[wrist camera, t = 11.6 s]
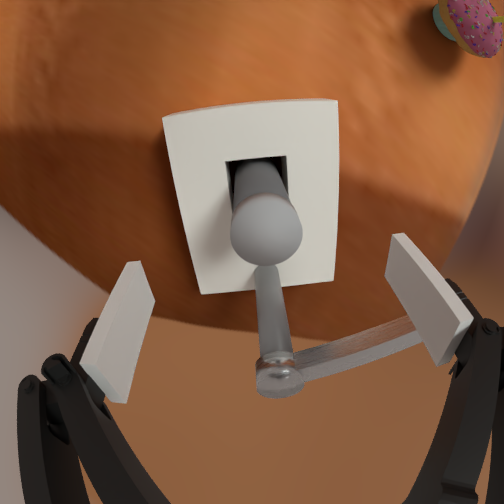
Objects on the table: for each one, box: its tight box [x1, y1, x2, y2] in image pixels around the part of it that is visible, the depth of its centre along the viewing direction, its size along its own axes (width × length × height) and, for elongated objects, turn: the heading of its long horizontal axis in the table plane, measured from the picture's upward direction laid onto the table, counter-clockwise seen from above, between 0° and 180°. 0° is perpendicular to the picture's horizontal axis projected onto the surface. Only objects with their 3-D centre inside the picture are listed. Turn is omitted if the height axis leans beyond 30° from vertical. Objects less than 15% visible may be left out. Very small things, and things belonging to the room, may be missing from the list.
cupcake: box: [433, 0, 504, 58], centre depth 12 cm, size 9×8×12 cm
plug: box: [230, 157, 303, 266], centre depth 22 cm, size 4×4×12 cm
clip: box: [255, 315, 423, 398], centre depth 18 cm, size 15×3×4 cm, turn 110°
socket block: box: [162, 98, 339, 357], centre depth 22 cm, size 18×14×15 cm
